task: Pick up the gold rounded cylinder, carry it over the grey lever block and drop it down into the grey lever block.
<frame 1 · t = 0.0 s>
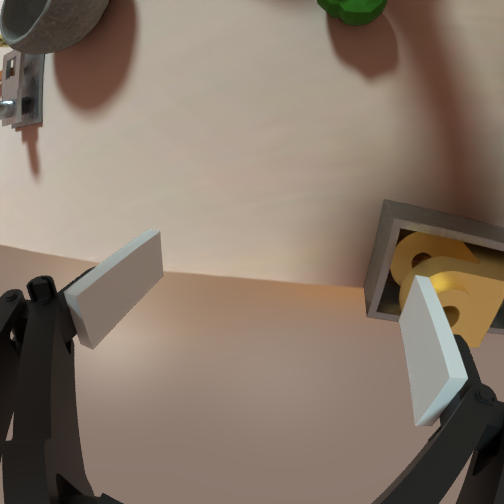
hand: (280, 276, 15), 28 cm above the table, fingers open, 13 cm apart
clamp: (446, 258, 39), resting in clamp holder
bell pepper: (349, 6, 28), on the table
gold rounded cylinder: (21, 40, 39), on the table
bowl: (88, 4, 34), on the table
clamp holder: (446, 258, 39), on the table
grey lever block: (27, 105, 46), on the table
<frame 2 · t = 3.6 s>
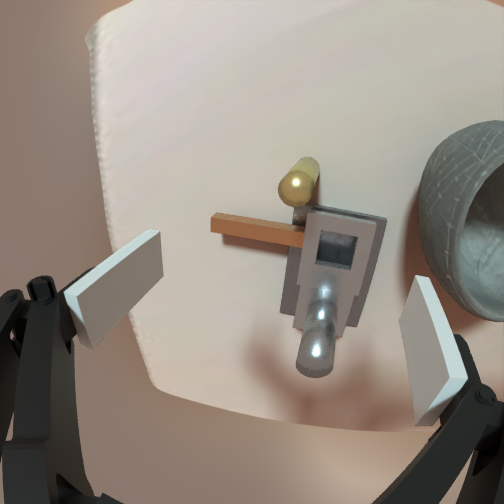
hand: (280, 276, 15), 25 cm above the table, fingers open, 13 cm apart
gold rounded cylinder: (307, 168, 37), on the table
bowl: (473, 197, 32), on the table
grey lever block: (324, 291, 43), on the table
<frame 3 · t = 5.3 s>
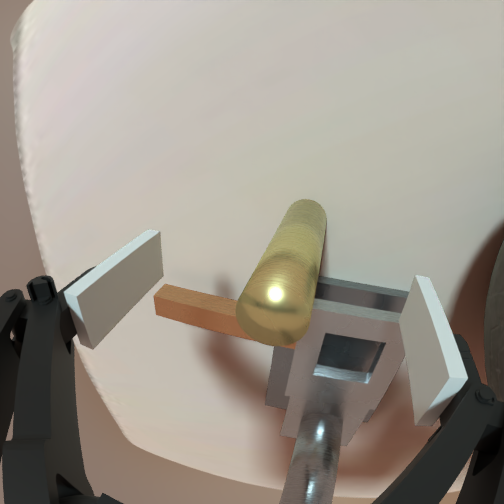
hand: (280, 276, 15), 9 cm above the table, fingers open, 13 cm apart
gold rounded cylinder: (306, 218, 22), on the table
grey lever block: (327, 384, 29), on the table
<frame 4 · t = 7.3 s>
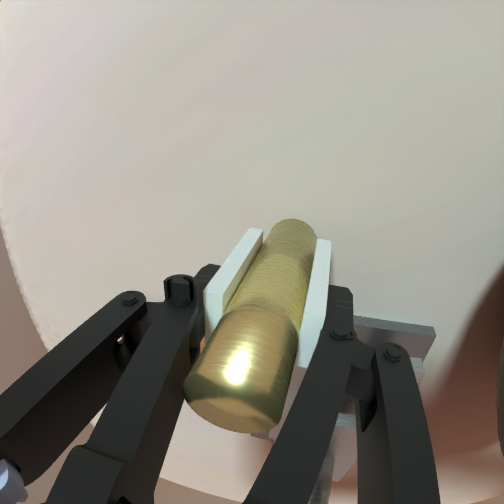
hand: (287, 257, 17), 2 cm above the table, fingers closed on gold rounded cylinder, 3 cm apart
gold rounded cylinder: (292, 242, 18), on the table, touching gripper
grey lever block: (318, 417, 25), on the table
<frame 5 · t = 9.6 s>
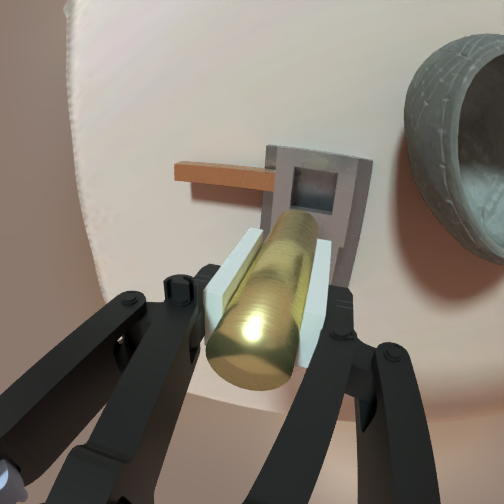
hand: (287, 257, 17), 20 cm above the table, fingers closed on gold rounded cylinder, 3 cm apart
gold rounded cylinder: (296, 231, 20), point 16 cm above the table, touching gripper
bowl: (470, 137, 27), on the table
grey lever block: (307, 250, 38), on the table
when the fingers open (6 cm above the table, at t = 12.3 s): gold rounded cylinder drops 1 cm, resting on grey lever block.
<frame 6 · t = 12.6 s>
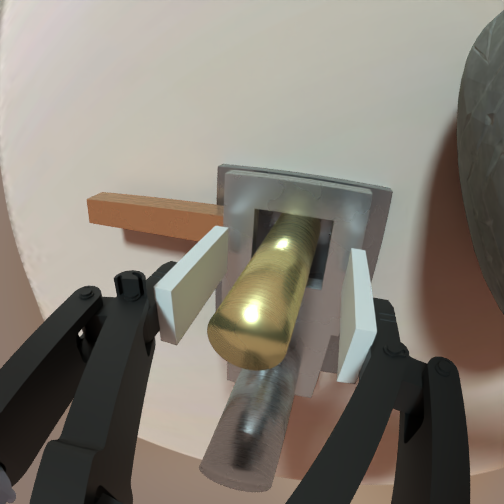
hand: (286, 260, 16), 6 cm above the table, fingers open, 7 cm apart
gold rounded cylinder: (299, 226, 21), point 1 cm above the table, touching grey lever block
grey lever block: (285, 319, 26), on the table
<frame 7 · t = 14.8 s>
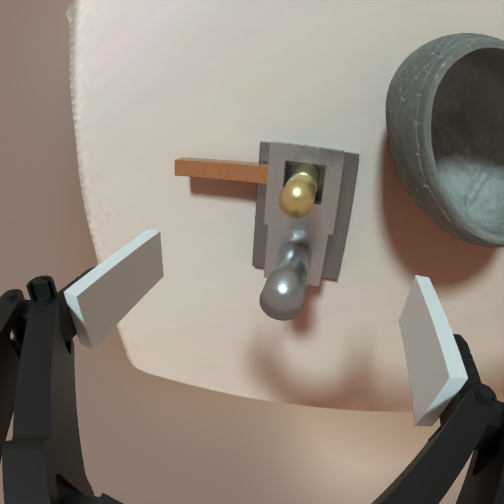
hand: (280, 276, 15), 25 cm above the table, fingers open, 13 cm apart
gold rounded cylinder: (307, 175, 36), point 1 cm above the table, touching grey lever block
bowl: (452, 131, 30), on the table
grey lever block: (299, 240, 41), on the table
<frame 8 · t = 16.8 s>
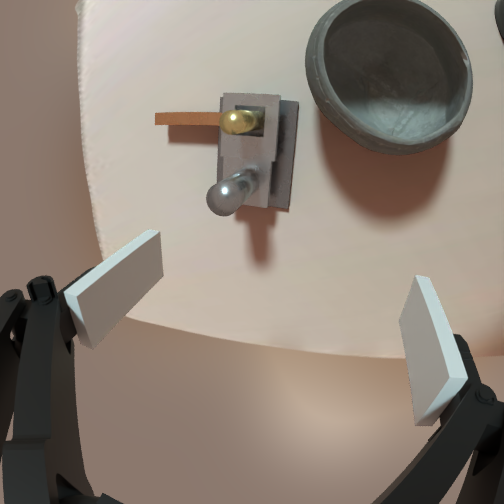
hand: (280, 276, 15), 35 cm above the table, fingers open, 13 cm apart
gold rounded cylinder: (256, 120, 44), point 1 cm above the table, touching grey lever block
bowl: (380, 79, 37), on the table
grey lever block: (254, 175, 48), on the table
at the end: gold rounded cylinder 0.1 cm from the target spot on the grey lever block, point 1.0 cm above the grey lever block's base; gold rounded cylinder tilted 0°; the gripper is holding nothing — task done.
